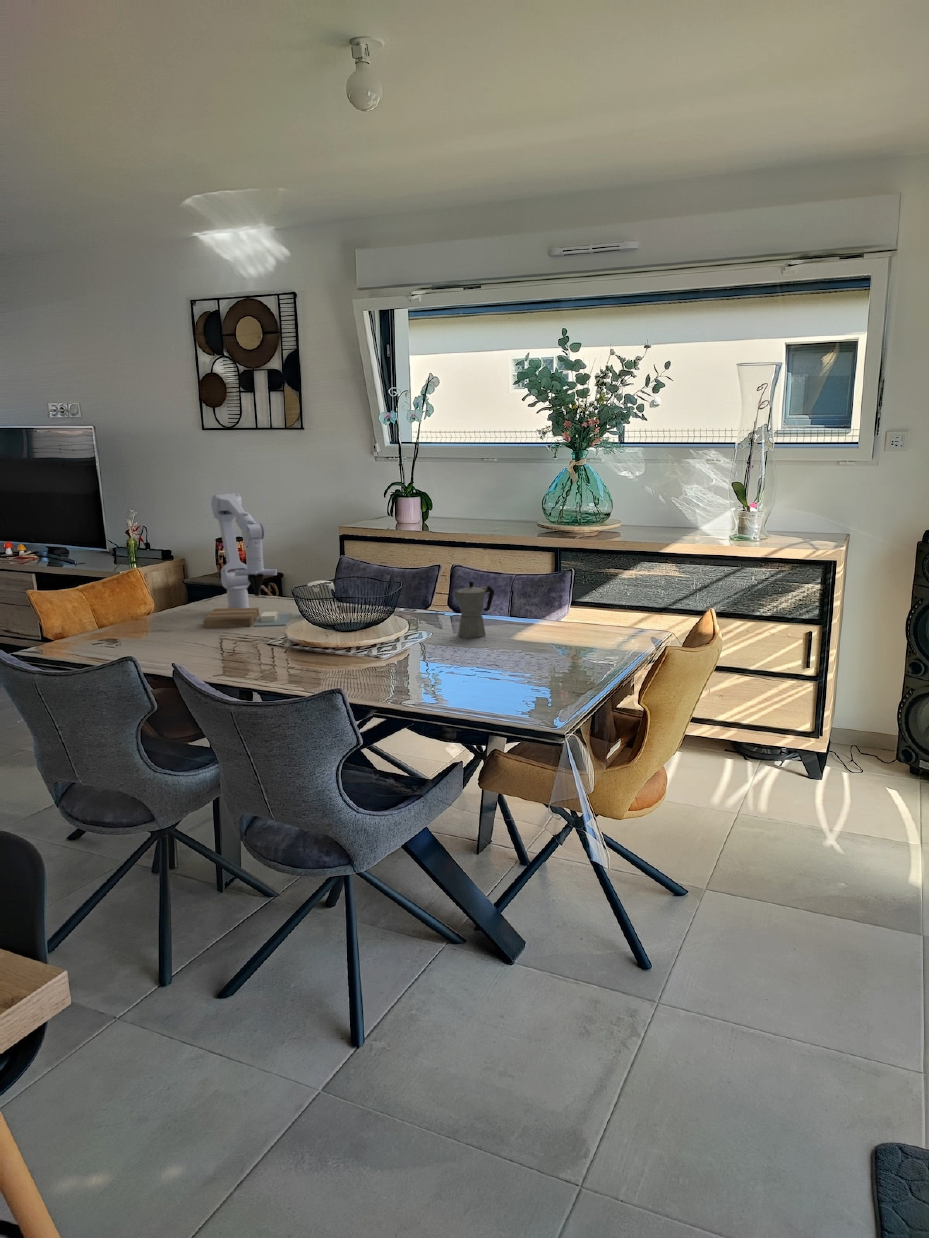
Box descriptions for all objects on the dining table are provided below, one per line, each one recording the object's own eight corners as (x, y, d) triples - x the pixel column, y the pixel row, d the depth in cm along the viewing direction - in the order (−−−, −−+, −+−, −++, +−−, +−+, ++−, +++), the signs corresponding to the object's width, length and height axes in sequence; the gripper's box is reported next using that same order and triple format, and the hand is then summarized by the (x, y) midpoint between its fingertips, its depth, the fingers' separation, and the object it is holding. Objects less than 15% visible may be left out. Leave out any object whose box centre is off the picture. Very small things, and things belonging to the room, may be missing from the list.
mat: (261, 615, 324) (261, 614, 323) (291, 614, 324) (291, 613, 324) (253, 626, 306) (253, 625, 306) (285, 625, 307) (285, 624, 307)
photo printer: (334, 611, 329) (332, 578, 326) (336, 613, 325) (334, 580, 322) (306, 613, 325) (305, 580, 322) (308, 615, 321) (306, 582, 318)
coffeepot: (462, 640, 282) (461, 585, 278) (447, 634, 290) (446, 581, 286) (501, 634, 290) (501, 580, 286) (486, 628, 298) (486, 576, 294)
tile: (277, 611, 318) (277, 616, 318) (263, 612, 318) (264, 617, 318) (274, 615, 311) (274, 621, 312) (260, 616, 311) (260, 621, 311)
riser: (215, 616, 323) (214, 608, 322) (259, 615, 324) (258, 607, 323) (204, 628, 305) (203, 619, 304) (250, 626, 306) (250, 618, 305)
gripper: (231, 560, 305) (234, 598, 308) (273, 559, 306) (276, 597, 309) (235, 556, 312) (238, 594, 315) (276, 555, 313) (279, 593, 316)
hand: (257, 595), depth 313 cm, fingers closed
